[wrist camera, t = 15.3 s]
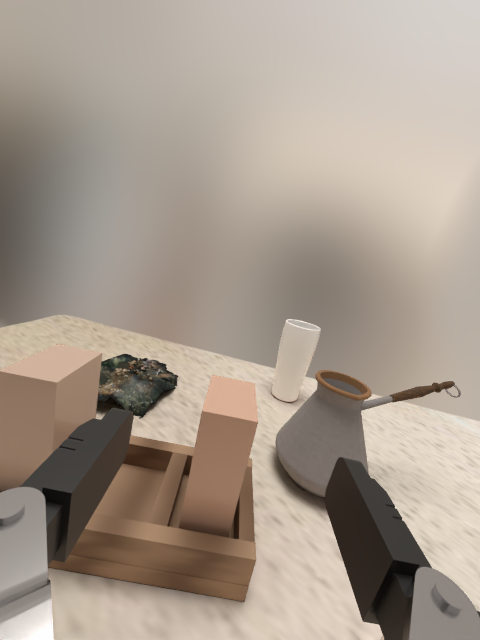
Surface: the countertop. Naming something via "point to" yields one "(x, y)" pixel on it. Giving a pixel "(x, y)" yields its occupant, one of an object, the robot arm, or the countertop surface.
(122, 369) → the decorative rock
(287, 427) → the coffee pot
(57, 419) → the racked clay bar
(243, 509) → the wooden divided tray
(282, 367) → the drinking glass
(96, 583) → the countertop surface
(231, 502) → the clay bar
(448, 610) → the robot arm
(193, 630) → the countertop surface
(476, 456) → the countertop surface
